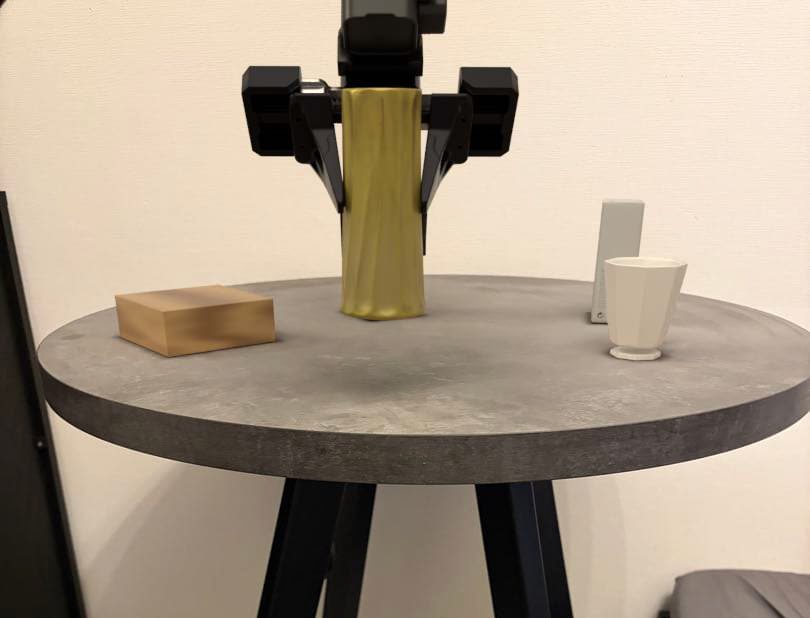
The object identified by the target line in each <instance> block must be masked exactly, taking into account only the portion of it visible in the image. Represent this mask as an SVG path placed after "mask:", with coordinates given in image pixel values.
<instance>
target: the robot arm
mask: <svg viewBox="0 0 810 618" xmlns="http://www.w3.org/2000/svg"><path fill="white" fill-rule="evenodd" d="M447 17H448V0H340V28H339V29H338V31H337V32H338V33H337V51H336V52H337V54H336V55H337V56H336V61H337V62H336V63H337V75H338V77H340V78H339V79H340V80H339V81H340V82H339V84H340V85H339V86H331V85H329V84H328V83H327V81H326V80H324V79H322V78H315V77H314V78H303V76H302V75H303V74H302V67H301V65H249V66H248V67H247V68H246V70H245V71H244V72H243V74H242V75H241V88H240V89H241V90H240V91H241V93H240V95H241V99H242V105H243V110H244V115H245V120H246V127H247V131H248V137H249V141H250V148H251V151H252V152H253V153H255V154H256V155H257V156H259V157H273V158H274V157H279V158H280V157H282V158H283V157H286V158H287V157H290V158H291V157H294V160H295V161H296V162H297V163H298V164H300V165H309V166H310V167H311V169H312V170H313V172H314V173H315V174H316V175H317V177H318V178H319V180H321V182H322V183H323V186H324V188H325V190H326V192H327V194H328V196H329V198H330V201H331V203H332V205H333V207H334V208H335V210H336V213H337V214H338V215H339V221H340V245H341V246H340V247H341V248H340V249H341V250H342V226H343V213H344V193H343V172H342V167H341V160H340V155H339V147H338V142H337V134H336V125H335V124H341V125H342V105H341V95H342V90H343V89H348V88H411V89H421V91H422V92H423V90H422V89H423V88H421V87H422V86H421V85H422V84H421V78H422V77H423V76H424V40H423V35H444V33H445V32H446V24H447ZM519 88H520V87H519V76H518V75H517V73H516V72H515V71H514V69H513V68H512V67H511V66H460V67H459V72H458V81H457V90H456V92H455V93H453V92H452V93H451V92H449V93H447V92H443V93H442V92H441V93H440V92H437V93H436V92H432V93H422V107H421V131H426V132H427V133H426V134H427V135H426V142H425V148H424V149H425V150H424V156H423V157H424V158H423V166H422V171H421V219H422V241H423V257H425V256H427V231H428V230H427V229H428V212H429V209H430V208H431V205H432V202H433V200H434V198H435V196H436V193H437V191H438V189H439V187H440V185H441V183H442V181H443V180H444V179H445V177H446V176H447V175H448V173H449V171H450V170H451V169H452V168H453V166H454V165H462V164H465V163H466V162H467V161H468V159H469V158H501V157H502V156H504V155H506V154H507V153H509V152H510V148H511V143H512V136H513V132H514V125H515V120H516V113H517V108H518V104H519V97H520V89H519Z"/></svg>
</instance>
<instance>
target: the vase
mask: <svg viewBox="0 0 810 618" xmlns="http://www.w3.org/2000/svg"><path fill="white" fill-rule="evenodd" d="M421 89H422V88H421ZM421 89H411V88H348V89H343V90H342V95H341V105H342V124H341V144H342V145H341V154H342V180H343V193H344V213H343V226H342V249H341V301H340V312H341V314H343V315H345V316H347V317H350V318H353V319H360V320H371V321H396V320H405V319H406V320H407V319H412V318H416V317H419V316H421V315H423V314H424V313H425V312H426V309H427V308H426V306H427V305H426V298H425V281H424V279H425V278H424V277H425V276H424V256H423V241H422V219H421V180H422V130H421V107H422V94H423V90H422V91H421Z"/></svg>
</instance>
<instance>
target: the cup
mask: <svg viewBox="0 0 810 618" xmlns="http://www.w3.org/2000/svg"><path fill="white" fill-rule="evenodd" d="M688 265H689V263H688V262H685V261H681V260H678V259H674V258H666V257H665V258H664V257H655V256H653V257H652V256H639V257H617V258H613V259H609V260H605V261H604V272H605V289H606V313H607V322H608V323H607V327H608V335H609V341H610V342H611V343H613V344H614V345H617V346H615V347H613V348H611V349H610V351H609V354H610V355H611V356H613V357H615V358H617V359H621V360H622V359H623V360H629V361H654V360H656V359H658V358H660V357H661V355H662V352H661V351H660V350H658V349H656V348H657V347H659V346H661V345H662V344H664V342H665V339H666V337H667V335H668V331H669V329H670V326H671V324H672V322H673V318H674V315H675V311H676V307H677V305H678V300H679V298H680V293H681V290H682V287H683V284H684V280H685V276H686V274H687V273H686V272H687V269H688Z"/></svg>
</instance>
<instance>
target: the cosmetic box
mask: <svg viewBox="0 0 810 618" xmlns="http://www.w3.org/2000/svg"><path fill="white" fill-rule="evenodd" d="M645 204H646V203H645V202H644V201H643V200H642V199H636V198H635V199H634V198H633V199H632V198H631V199H630V198H603V199H602V203H601V213H600V222H599V231H598V232H599V233H598V243H597V251H596V261H595V272H594V280H593V289H592V297H591V298H592V299H591V310H590V311H591V312H590V315H591V316H590V322H591V323H594V324H595V323H597V324H608V322H607V313H606V289H605V272H604V261H605V260H609V259H613V258H617V257H640V248H641V247H640V246H641V240H642V231H643V222H644V213H645Z"/></svg>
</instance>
